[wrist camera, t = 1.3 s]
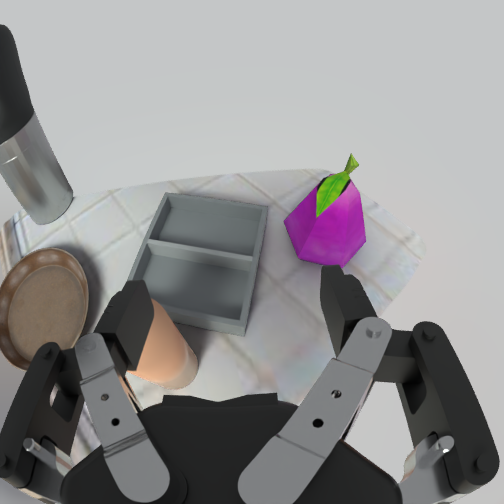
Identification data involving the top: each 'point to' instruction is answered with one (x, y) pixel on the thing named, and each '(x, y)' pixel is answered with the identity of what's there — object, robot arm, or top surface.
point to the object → (42, 305)
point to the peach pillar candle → (166, 354)
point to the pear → (329, 221)
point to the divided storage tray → (202, 260)
